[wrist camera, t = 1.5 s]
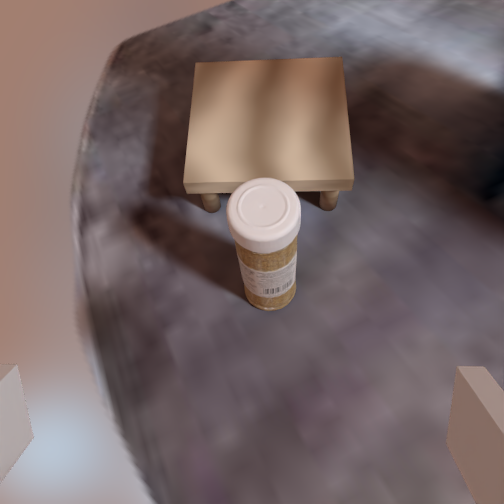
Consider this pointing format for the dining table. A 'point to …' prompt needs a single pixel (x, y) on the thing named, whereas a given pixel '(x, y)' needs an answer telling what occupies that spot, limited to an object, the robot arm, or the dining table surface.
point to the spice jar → (266, 240)
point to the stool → (269, 128)
